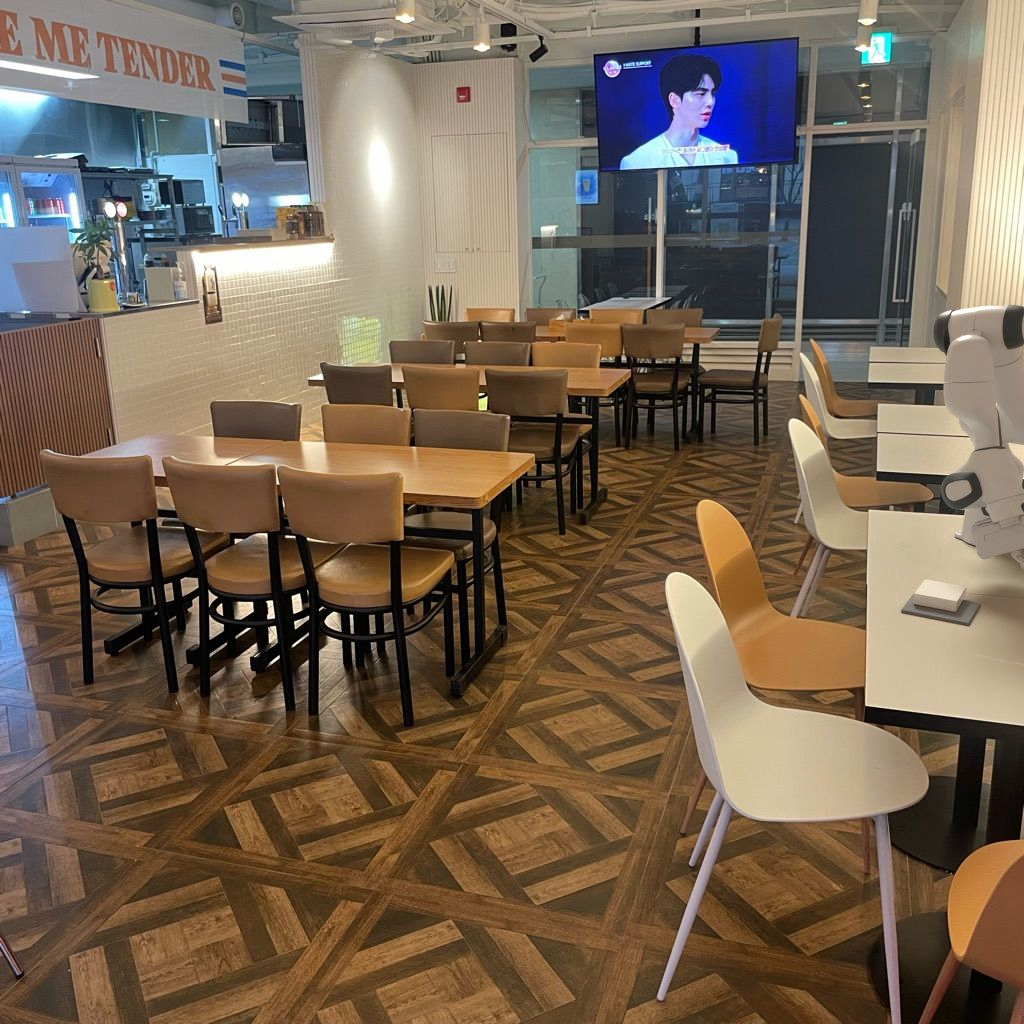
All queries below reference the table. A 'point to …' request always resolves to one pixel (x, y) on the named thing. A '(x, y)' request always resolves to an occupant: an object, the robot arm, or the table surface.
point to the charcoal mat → (944, 611)
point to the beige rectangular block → (939, 595)
